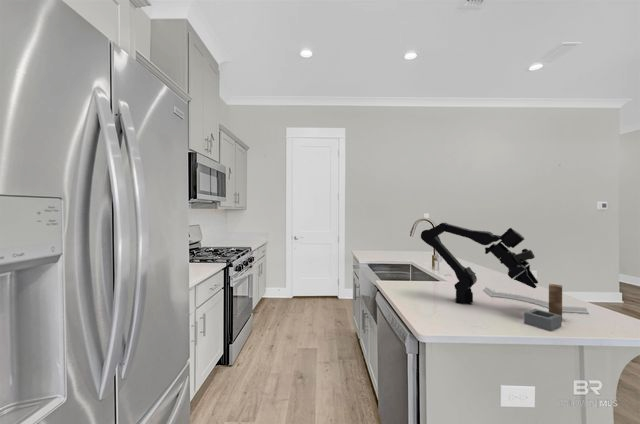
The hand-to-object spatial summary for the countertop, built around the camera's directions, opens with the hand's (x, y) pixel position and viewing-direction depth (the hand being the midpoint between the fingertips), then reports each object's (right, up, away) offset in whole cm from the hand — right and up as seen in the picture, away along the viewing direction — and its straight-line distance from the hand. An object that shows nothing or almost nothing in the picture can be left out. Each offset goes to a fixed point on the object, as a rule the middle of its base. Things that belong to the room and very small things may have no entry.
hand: (536, 285), depth 118 cm
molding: (+11, -13, +19) cm, 25 cm away
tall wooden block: (+5, -12, -4) cm, 13 cm away
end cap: (-5, -12, -10) cm, 16 cm away
